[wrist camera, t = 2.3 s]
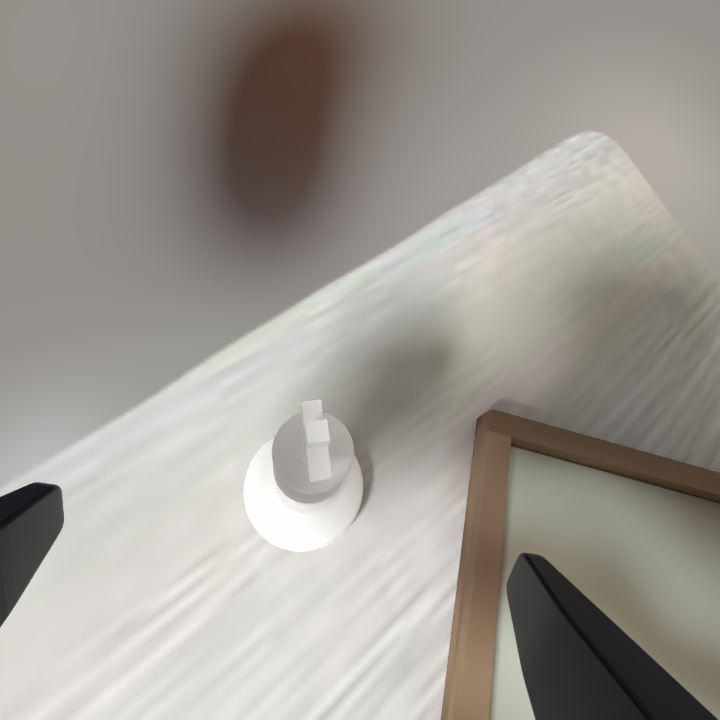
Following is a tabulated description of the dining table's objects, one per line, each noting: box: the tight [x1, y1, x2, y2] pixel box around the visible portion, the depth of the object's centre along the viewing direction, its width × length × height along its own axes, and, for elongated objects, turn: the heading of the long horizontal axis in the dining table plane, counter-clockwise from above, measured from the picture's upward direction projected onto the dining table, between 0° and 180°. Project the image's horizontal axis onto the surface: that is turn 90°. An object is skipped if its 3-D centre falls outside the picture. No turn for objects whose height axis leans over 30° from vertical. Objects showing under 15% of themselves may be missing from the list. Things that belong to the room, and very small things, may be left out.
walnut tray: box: [441, 409, 720, 720], centre depth 16 cm, size 14×14×2 cm
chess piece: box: [244, 399, 363, 552], centre depth 13 cm, size 5×5×10 cm
